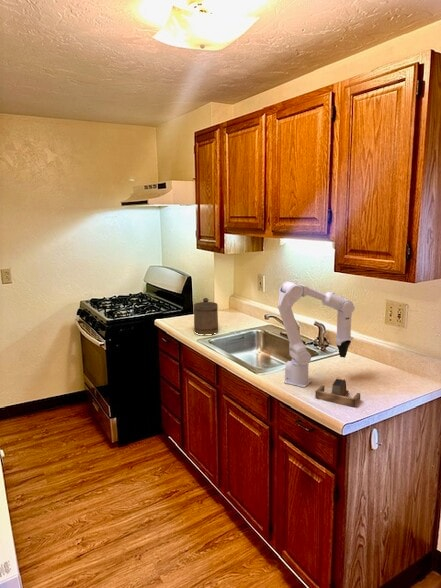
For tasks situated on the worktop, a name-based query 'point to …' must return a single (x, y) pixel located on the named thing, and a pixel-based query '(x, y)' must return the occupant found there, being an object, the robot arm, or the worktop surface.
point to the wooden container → (206, 317)
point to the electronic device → (339, 387)
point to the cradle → (336, 397)
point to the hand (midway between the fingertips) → (342, 356)
